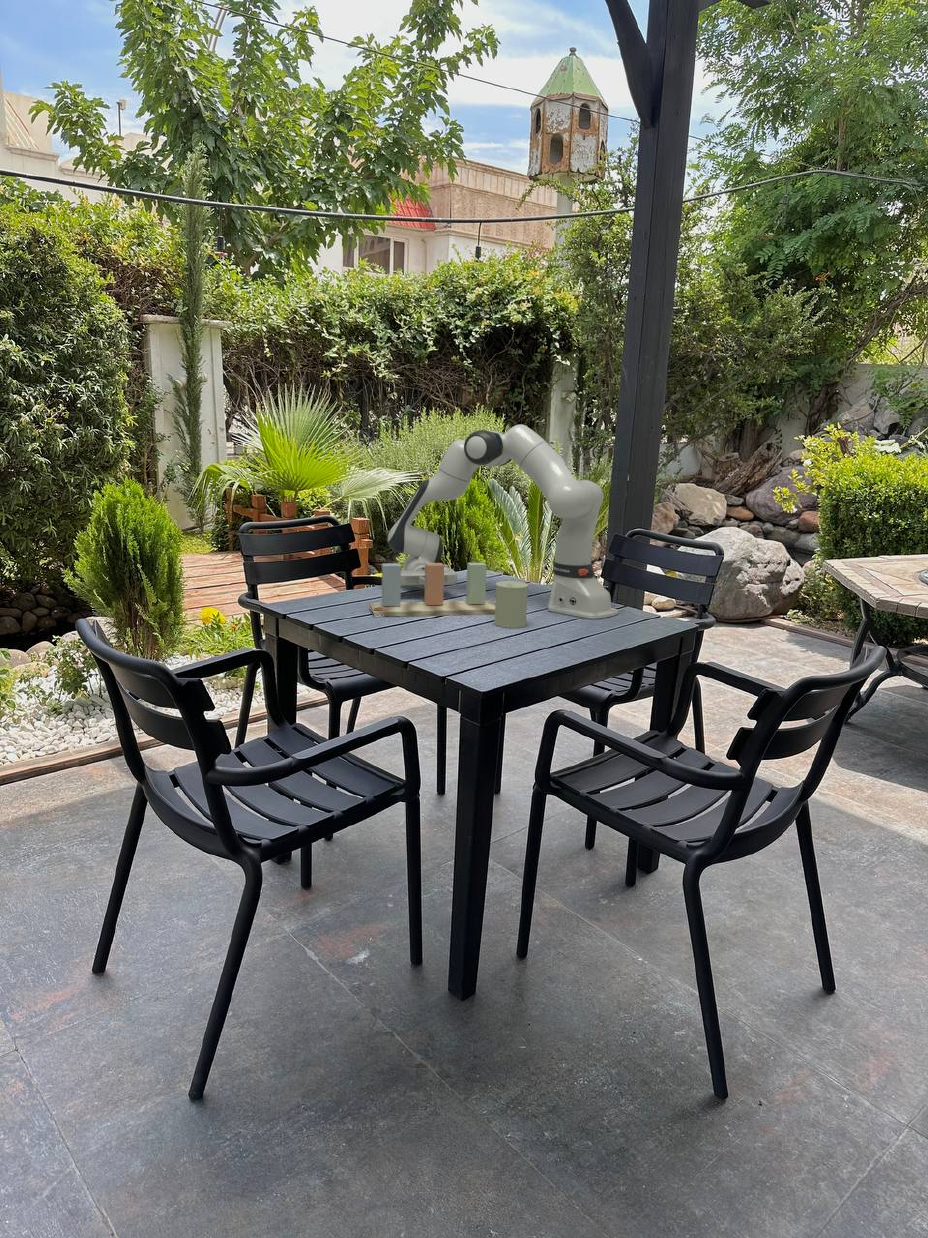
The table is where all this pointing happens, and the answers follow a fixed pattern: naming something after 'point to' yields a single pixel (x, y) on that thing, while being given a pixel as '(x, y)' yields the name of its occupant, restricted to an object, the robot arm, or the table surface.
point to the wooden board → (433, 609)
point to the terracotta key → (434, 583)
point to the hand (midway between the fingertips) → (429, 582)
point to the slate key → (391, 584)
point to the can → (511, 604)
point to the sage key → (476, 583)
